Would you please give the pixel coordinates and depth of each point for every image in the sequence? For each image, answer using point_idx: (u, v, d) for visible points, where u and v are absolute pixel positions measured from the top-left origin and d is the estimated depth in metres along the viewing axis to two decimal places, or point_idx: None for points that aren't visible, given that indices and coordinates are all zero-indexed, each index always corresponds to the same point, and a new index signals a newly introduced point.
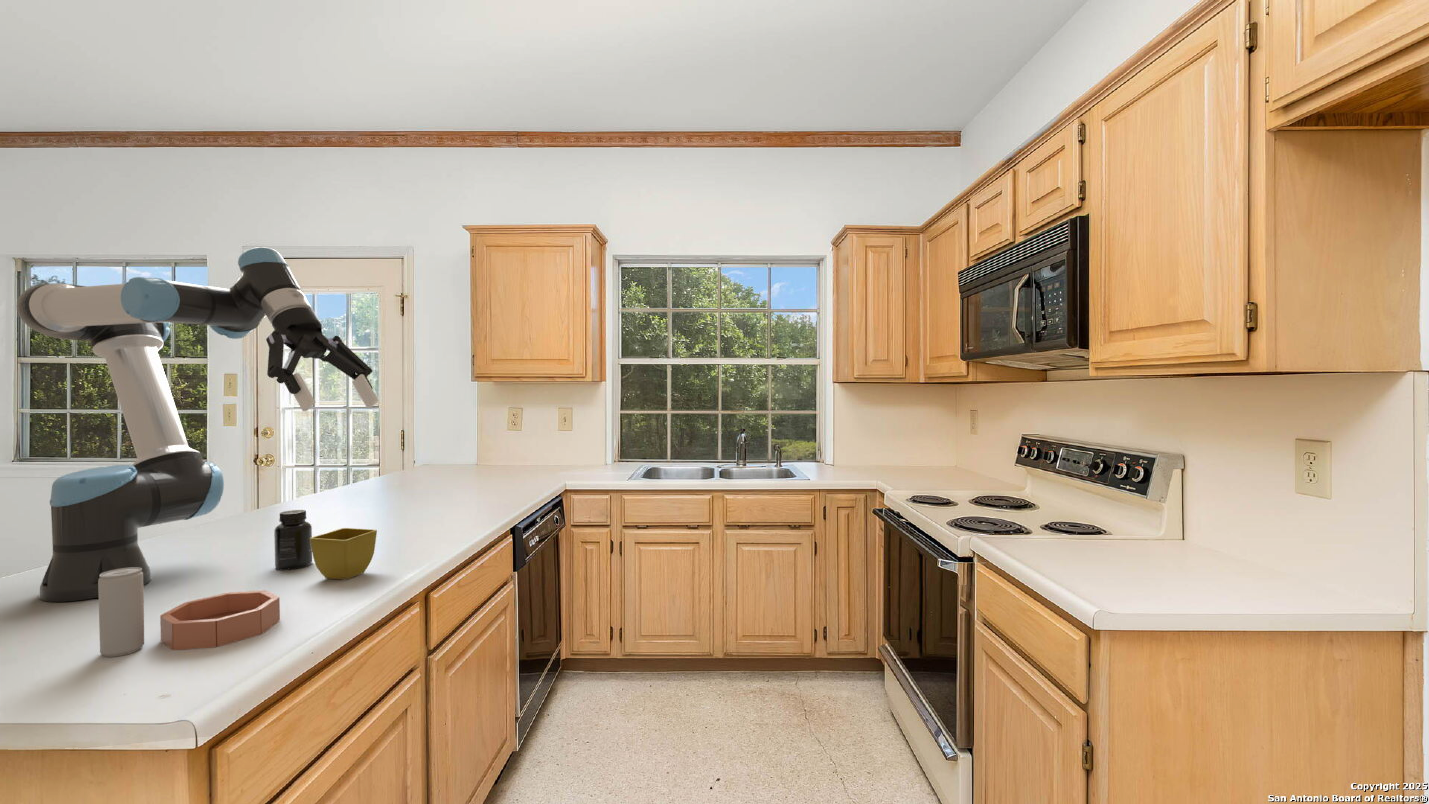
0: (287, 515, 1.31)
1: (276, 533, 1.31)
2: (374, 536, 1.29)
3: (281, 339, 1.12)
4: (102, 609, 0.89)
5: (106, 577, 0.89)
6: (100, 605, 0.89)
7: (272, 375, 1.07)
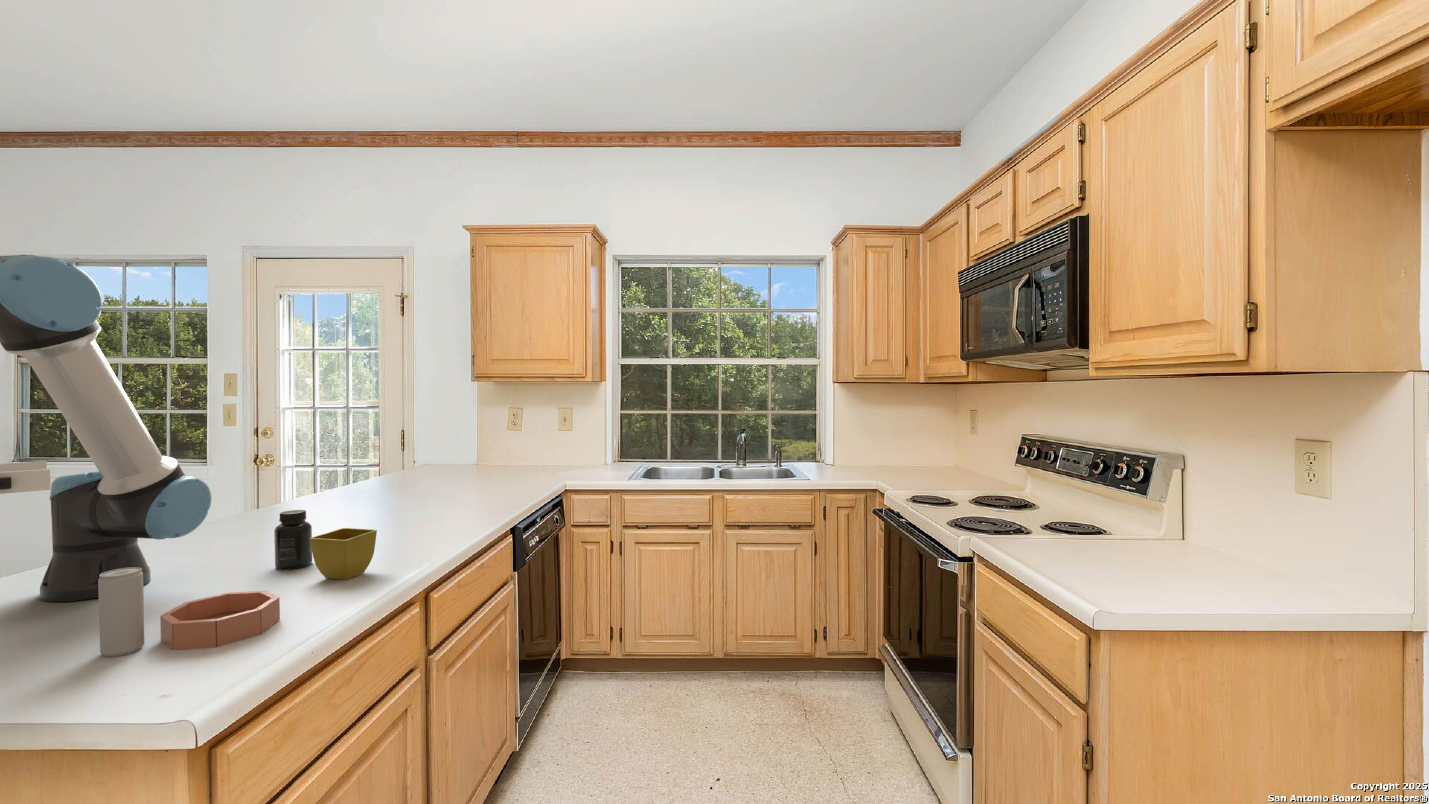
0: (287, 515, 1.31)
1: (276, 533, 1.31)
2: (374, 536, 1.29)
3: None
4: (102, 609, 0.89)
5: (106, 577, 0.89)
6: (100, 605, 0.89)
7: None
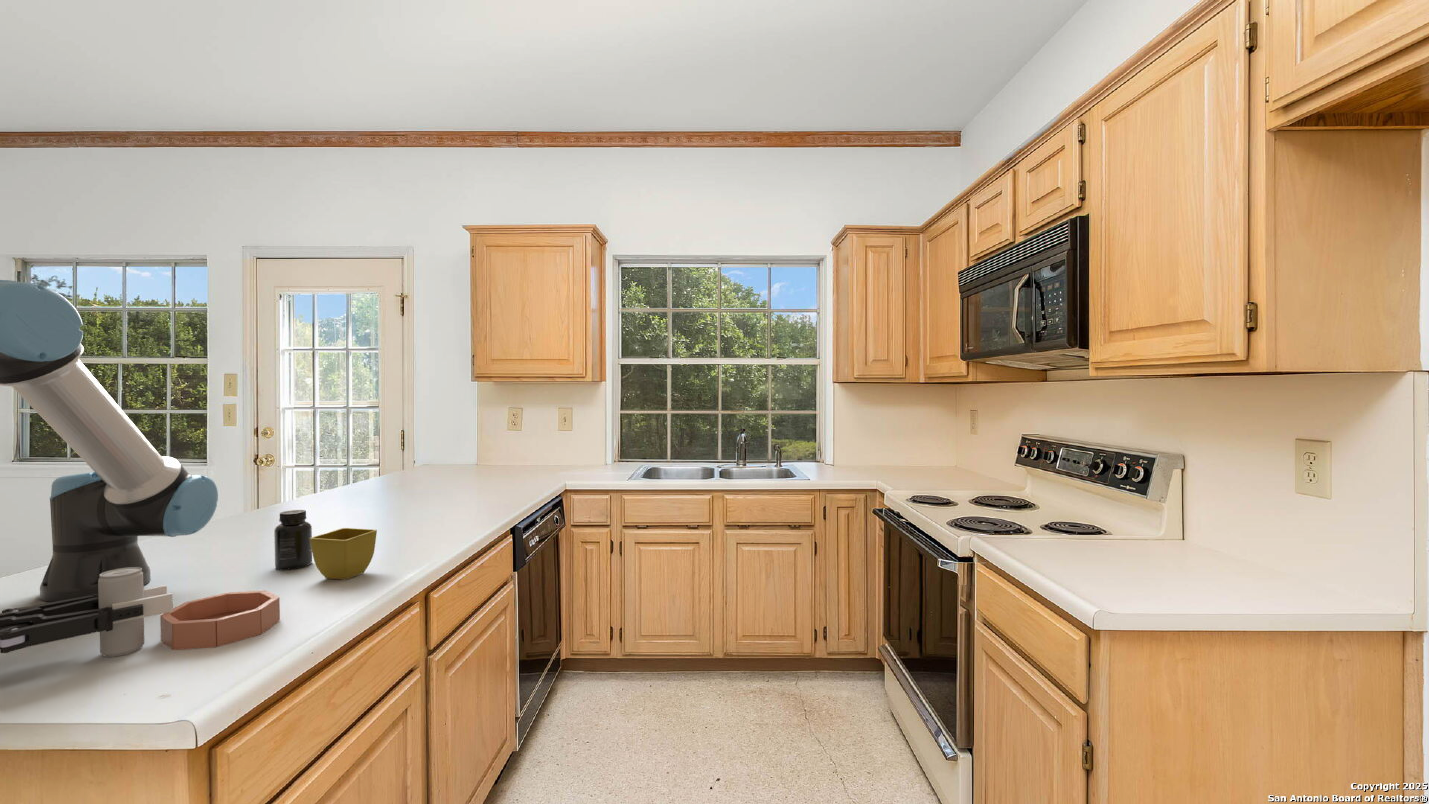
0: (287, 515, 1.31)
1: (276, 533, 1.31)
2: (374, 536, 1.29)
3: None
4: None
5: (106, 577, 0.89)
6: (100, 605, 0.89)
7: None
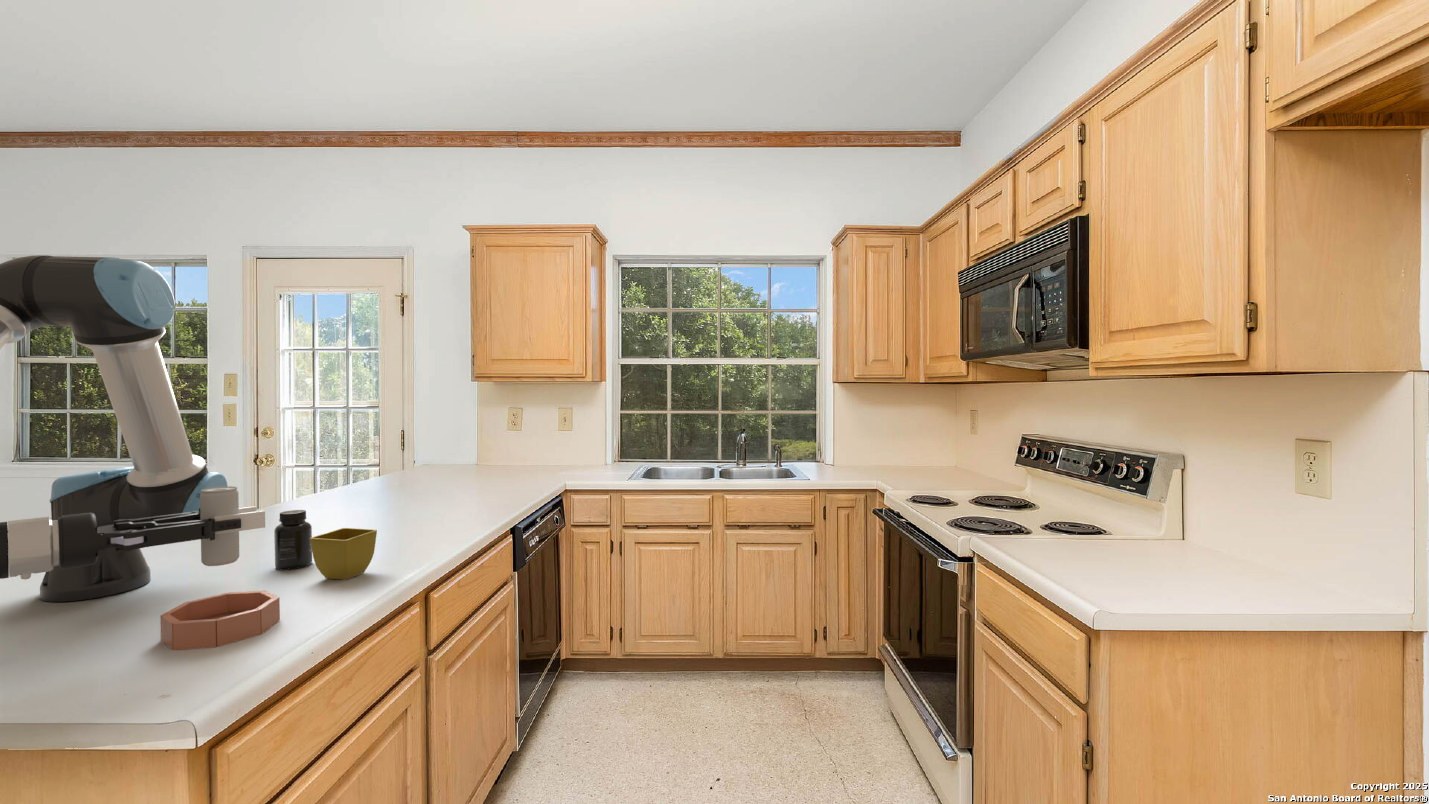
0: (287, 515, 1.31)
1: (276, 533, 1.31)
2: (374, 536, 1.29)
3: None
4: None
5: (208, 492, 0.96)
6: (202, 518, 0.96)
7: None
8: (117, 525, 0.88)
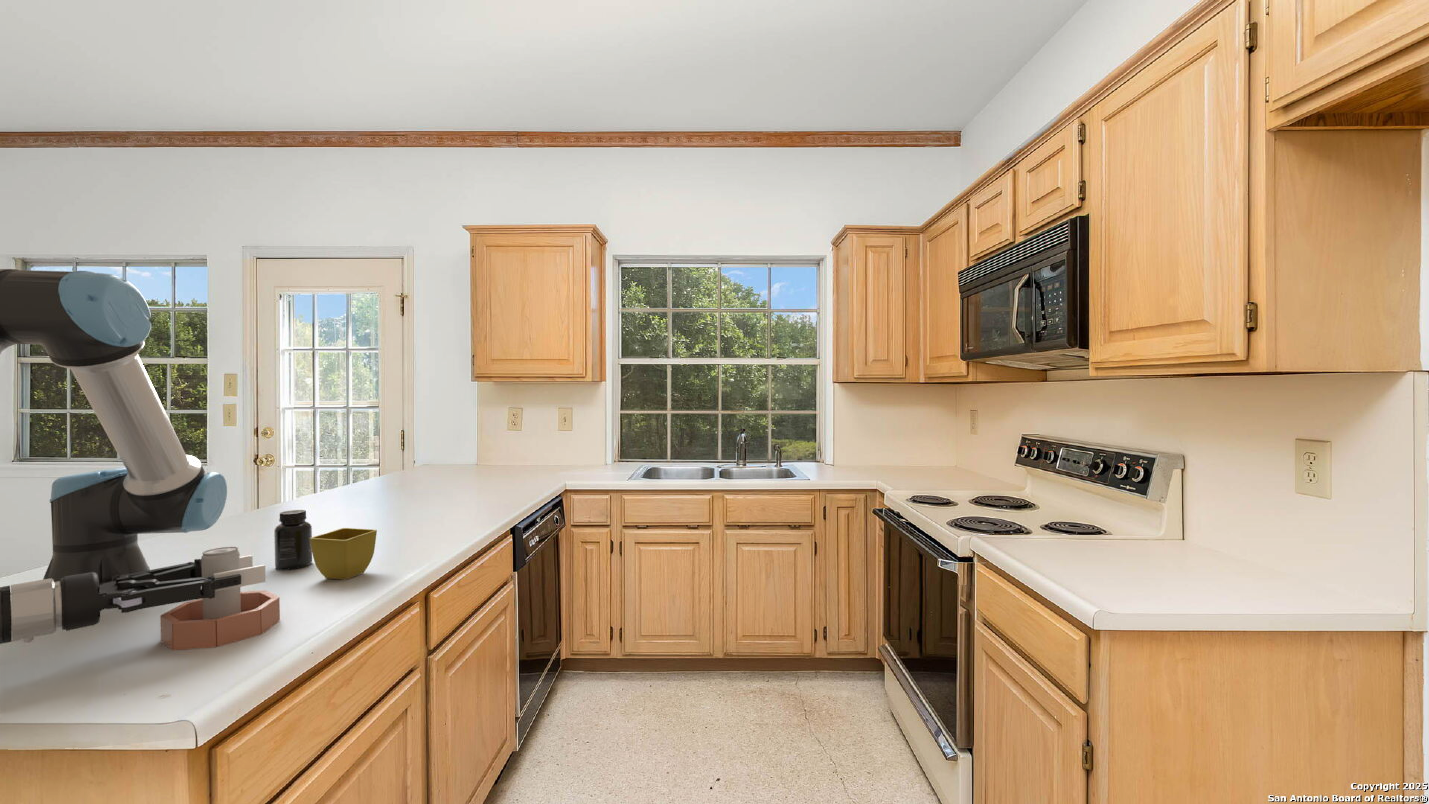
0: (287, 515, 1.31)
1: (276, 533, 1.31)
2: (374, 536, 1.29)
3: None
4: None
5: (209, 554, 0.96)
6: None
7: None
8: (119, 584, 0.88)
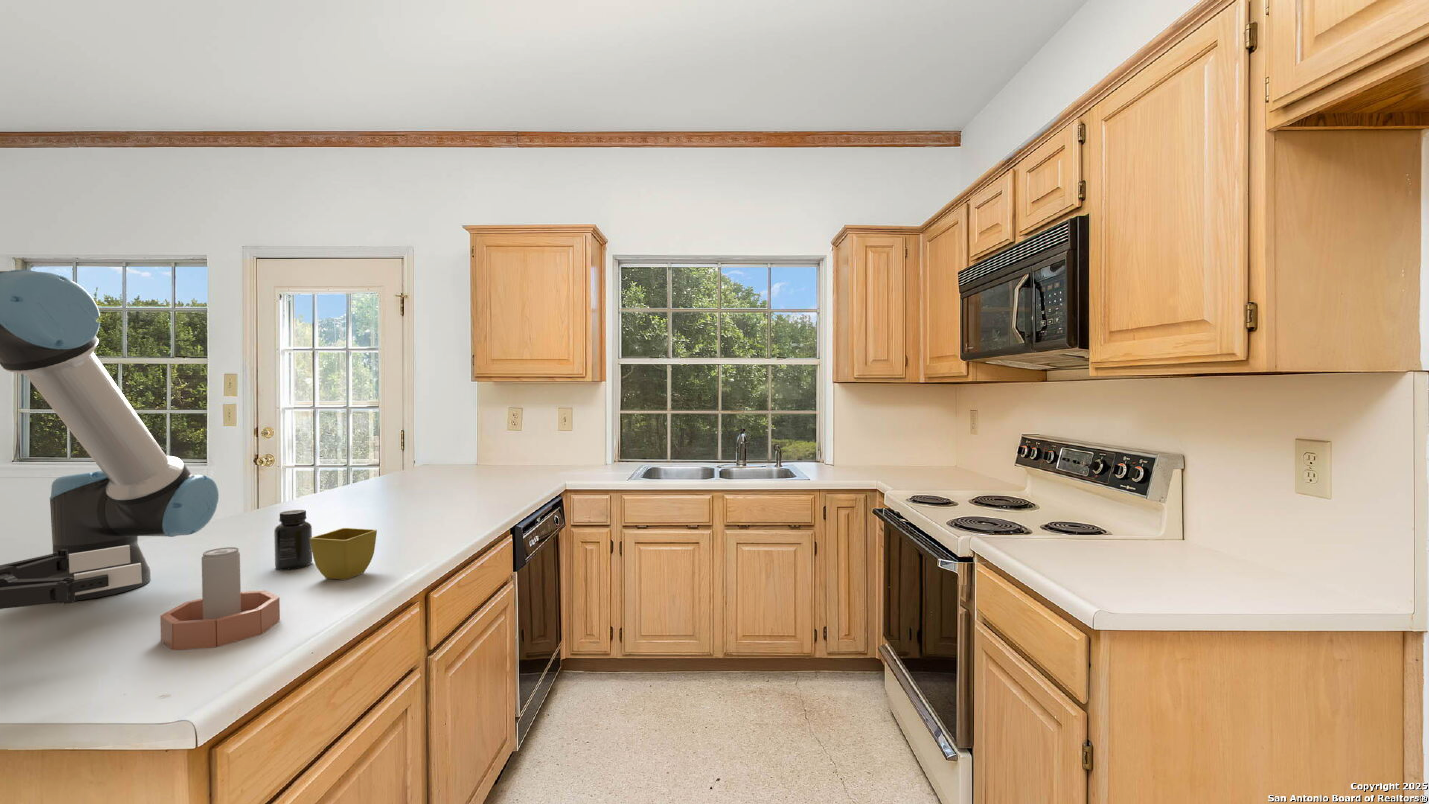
0: (287, 515, 1.31)
1: (276, 533, 1.31)
2: (374, 536, 1.29)
3: None
4: (206, 585, 0.96)
5: (209, 555, 0.96)
6: (204, 581, 0.96)
7: None
8: None
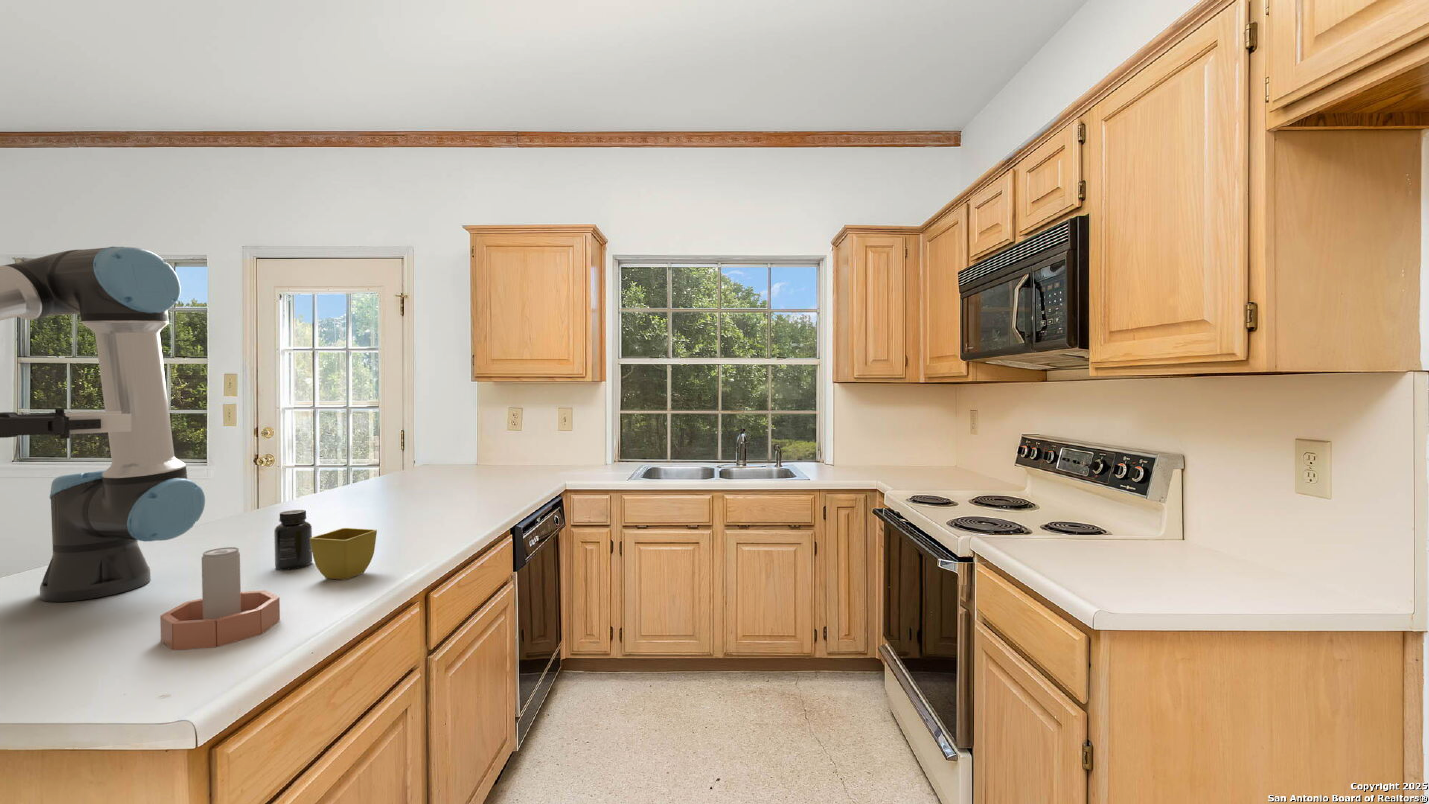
0: (287, 515, 1.31)
1: (276, 533, 1.31)
2: (374, 536, 1.29)
3: None
4: (206, 585, 0.96)
5: (209, 555, 0.96)
6: (204, 581, 0.96)
7: None
8: None
